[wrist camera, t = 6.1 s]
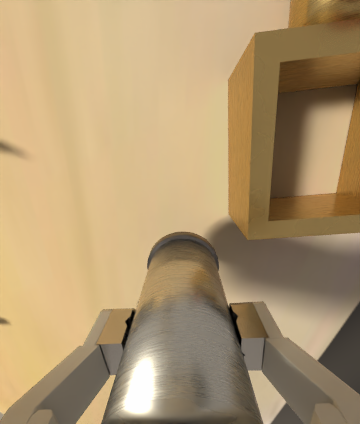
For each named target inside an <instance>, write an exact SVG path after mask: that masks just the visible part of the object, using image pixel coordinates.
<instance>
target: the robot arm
mask: <svg viewBox="0 0 360 424" xmlns="http://www.w3.org/2000/svg"><path fill="white" fill-rule="evenodd" d="M229 310H230V313H231V316H232V320H233V323H234V326H235V330H236V333H237V337H238V340H239V343H240V347H241V350H242V353H243V357H244V360H245V364H246V367H247V370H262V372H263V374H264V375H265V376H266V377H267V378H268V380H269V381H270V382H271V383H272V385H273V386H274V387H275V388H276V390H277V391H278V392H279V393H280V394H281V396H282V397H283V398H284V399H285V401H286V402H287V403H288V404H289V405H290V407H291V408H292V409H293V410H294V412H295V413H296V414H297V415H298V417H299V418H300V419H301V420H302V421H303V423H304V424H360V395H359V394H358V393H357V392H355V391H354V390H353V389H352V388H350V387H349V386H348V385H347V384H345V383H344V382H343V381H342V380H340V379H339V378H338V377H337V376H335V375H334V374H333V373H332V372H330V371H329V370H328V369H327V368H325V367H324V366H323V365H322V364H320V363H319V362H318V361H316V360H315V359H314V358H313V357H311V356H310V355H309V354H308V353H306V352H305V351H304V350H303V349H301V348H300V347H299V346H298V345H296V344H295V343H294V342H293V341H291V340H290V339H289V338H284V337H283V335H282V333H281V332H280V330H279V328H278V326H277V324H276V323H275V321H274V319H273V317H272V315H271V314H270V312H269V310H268V308H267V306H266V304H265V303H264V302H263V301H262V302H243V303H230V304H229ZM135 311H136V309H134V308H132V309H103V310H102V311H101V312H100V314H99V316H98V318H97V319H96V321H95V323H94V325H93V327H92V329H91V331H90V333H89V335H88V336H87V338H86V340H85V342H84V344H83V346H79V347H77V348H76V349H75V350H74V351H73V352H72V353H71V354H70V355H68V356H67V357H66V358H65V359H64V360H63V361H62V362H61V363H59V364H58V365H57V366H56V367H55V368H54V369H53V370H51V371H50V372H49V373H48V374H47V375H46V376H45V377H44V378H42V379H41V380H40V381H39V382H38V383H37V384H36V385H35V386H33V387H32V388H31V389H30V390H29V391H28V392H27V393H25V394H24V395H23V396H22V397H21V398H20V399H19V400H18V401H16V402H15V403H14V404H13V405H12V406H11V407H10V408H9V409H8V410H7V411H6V413H5V414H4V416H3V417H2V419H1V420H0V424H76V422H77V421H78V420H79V418H80V417H81V415H82V414H83V413H84V411H85V410H86V409H87V407H88V406H89V405H90V403H91V402H92V400H93V399H94V398H95V396H96V395H97V394H98V392H99V391H100V389H101V388H102V387H103V385H104V384H105V383H106V381H107V380H108V379H109V377H110V376H109V375H116V374H117V370H118V367H119V364H120V360H121V357H122V354H123V351H124V347H125V344H126V341H127V337H128V334H129V331H130V328H131V324H132V321H133V318H134V314H135Z"/></svg>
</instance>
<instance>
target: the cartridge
mask: <svg viewBox="0 0 360 424" xmlns="http://www.w3.org/2000/svg"><path fill="white" fill-rule="evenodd" d="M147 268H148V272H147V275H146V278H145V282H144V285H143V288H142V291H141V295H140V298H139V301H138V305H137V308H136V311H135V314H134V318H133V321H132V324H131V328H130V331H129V334H128V337H127V341H126V344H125V347H124V351H123V354H122V357H121V360H120V364H119V367H118V370H117V374H116V377H115V380H114V383H113V387H112V390H111V393H110V397H109V400H108V403H107V406H106V410H105V413H104V416H103V420H102V423H101V424H263V421H262V418H261V414H260V411H259V408H258V404H257V401H256V397H255V394H254V391H253V387H252V384H251V381H250V377H249V374H248V370H247V367H246V364H245V360H244V357H243V353H242V350H241V347H240V343H239V340H238V337H237V333H236V330H235V326H234V323H233V320H232V316H231V313H230V310H229V306H228V303H227V299H226V296H225V293H224V289H223V286H222V282H221V279H220V276H219V272H218V270H219V262H218V258H217V255H216V252H215V250H214V248H213V246H212V245H211V244H210V243H209V242H208V241H207V240H206V239H205V238H203V237H201V236H199V235H197V234H194V233H190V232H175V233H171V234H169V235H166V236H164V237H163V238H161V239H160V240H159V241H158V242H157V243H156V244H155V245H154V246H153V248H152V250H151V252H150V255H149V258H148V263H147Z"/></svg>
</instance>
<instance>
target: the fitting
mask: <svg viewBox="0 0 360 424" xmlns="http://www.w3.org/2000/svg"><path fill="white" fill-rule="evenodd" d="M353 84H358V86H357V91H356V96H355V101H354V106H353V111H352V116H351V121H350V126H349V132H348V137H347V142H346V147H345V152H344V157H343V162H342V167H341V172H340V177H339V182H338V187H337V192H336V193H331V194H319V195H306V196H294V197H282V198H270V191H271V177H272V164H273V150H274V137H275V124H276V110H277V97H278V93H284V92H292V91H301V90H310V89H318V88H327V87H336V86H344V85H353ZM228 137H229V215H230V217H231V218H232V219H233V221H234V222H235V224H236V225H237V226H238V228H239V229H240V230H241V232H242V233H243V234H244V236H245V237H246V239H247V240H257V239H272V238H287V237H301V236H316V235H331V234H346V233H360V0H291V2H290V14H289V26H288V28H287V29H280V30H273V31H265V32H258V33H255V34H254V36H253V37H252V39H251V41H250V43H249V44H248V46H247V48H246V50H245V51H244V53H243V55H242V57H241V58H240V60H239V62H238V64H237V65H236V67H235V69H234V71H233V73H232V74H231V76H230V78H229V80H228Z"/></svg>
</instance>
